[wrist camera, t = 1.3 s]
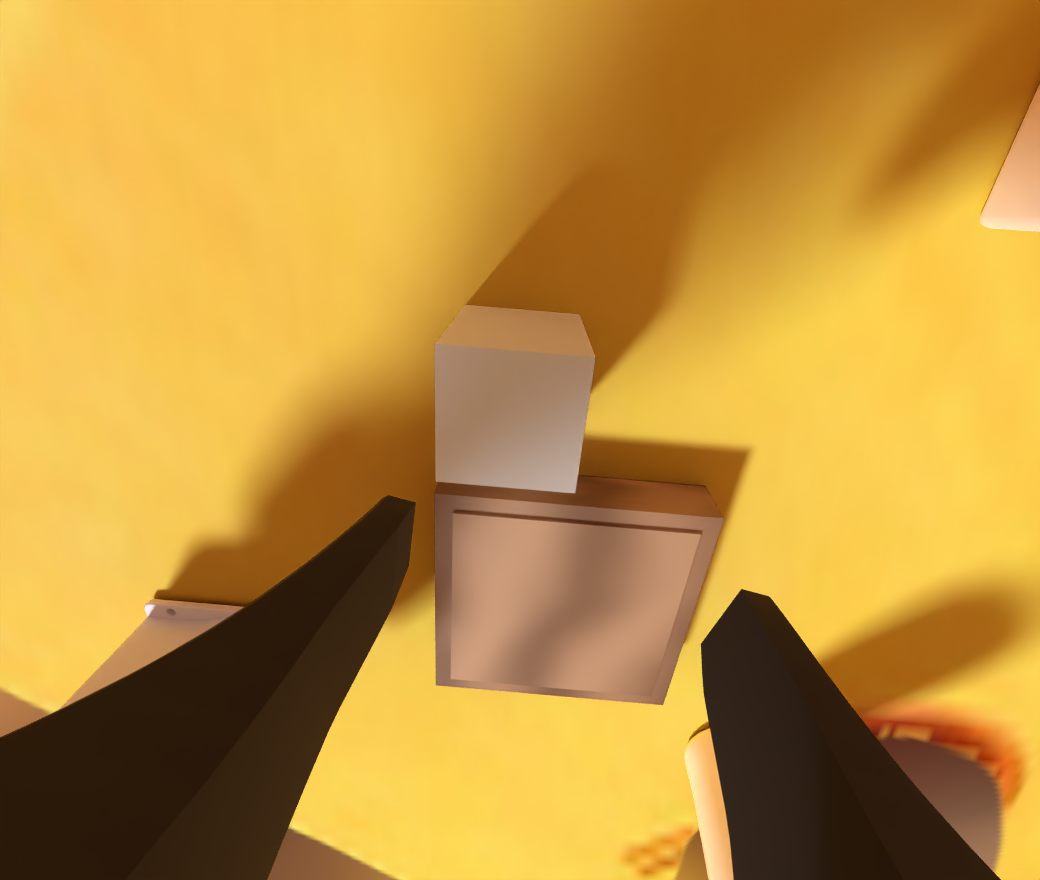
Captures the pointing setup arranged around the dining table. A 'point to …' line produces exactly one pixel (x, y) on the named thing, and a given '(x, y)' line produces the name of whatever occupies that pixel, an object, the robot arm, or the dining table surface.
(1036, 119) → the medicine bottle
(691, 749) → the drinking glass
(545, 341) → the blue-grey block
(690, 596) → the walnut plinth
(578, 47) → the dining table surface
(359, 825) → the dining table surface
